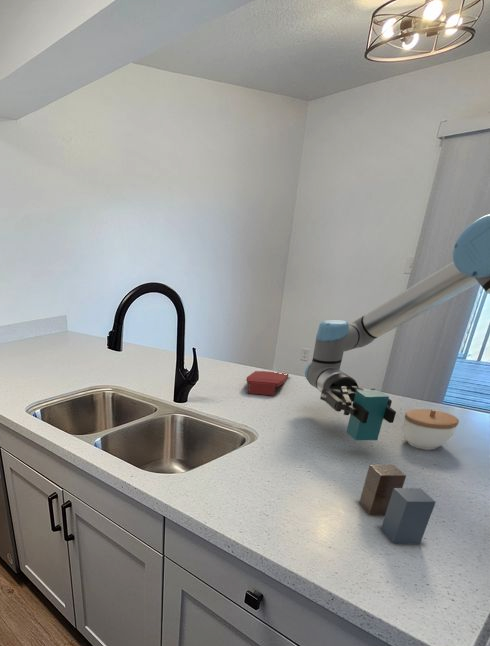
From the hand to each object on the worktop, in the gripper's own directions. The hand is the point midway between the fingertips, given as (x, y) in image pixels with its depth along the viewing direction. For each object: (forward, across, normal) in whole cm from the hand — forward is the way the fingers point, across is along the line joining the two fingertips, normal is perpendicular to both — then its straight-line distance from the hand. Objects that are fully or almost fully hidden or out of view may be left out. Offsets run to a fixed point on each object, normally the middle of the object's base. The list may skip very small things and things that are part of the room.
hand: (379, 417), depth 99 cm
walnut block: (+20, +7, -12) cm, 24 cm away
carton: (-62, +7, -12) cm, 64 cm away
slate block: (+29, +7, -12) cm, 32 cm away
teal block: (-5, 0, -7) cm, 9 cm away
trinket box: (-10, -18, -12) cm, 24 cm away
